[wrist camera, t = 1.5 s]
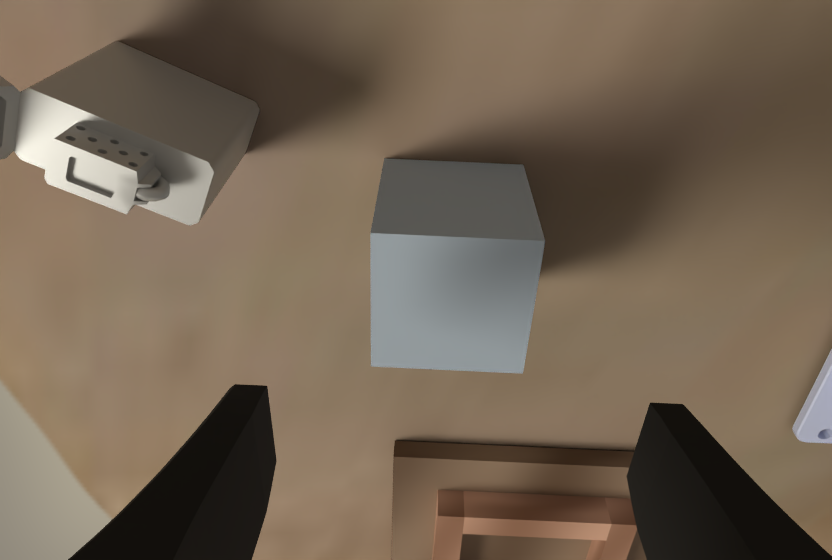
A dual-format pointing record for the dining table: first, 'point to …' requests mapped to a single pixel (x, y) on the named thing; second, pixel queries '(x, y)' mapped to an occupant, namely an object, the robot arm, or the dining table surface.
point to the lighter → (129, 132)
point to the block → (453, 266)
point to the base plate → (511, 503)
